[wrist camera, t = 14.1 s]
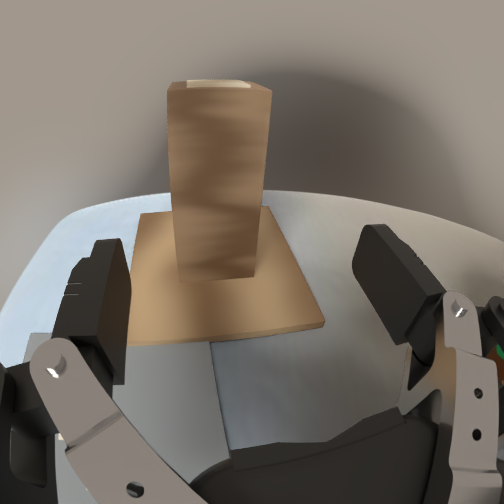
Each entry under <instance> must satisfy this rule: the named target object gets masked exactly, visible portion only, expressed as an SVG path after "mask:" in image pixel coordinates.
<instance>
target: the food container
mask: <svg viewBox="0 0 504 504" xmlns="http://www.w3.org/2000/svg"><path fill="white" fill-rule="evenodd" d="M487 358H489V359H492V360H494V361H495V363H496V367H497V376H498V378H499V380H500V382H501V383H502V384H503V385H504V353H503V351H502V349H501V348H500V346H499V344H498V345H497V346H496V347H495V348H494V349H493V351H492V352H491V353H490V354H489V355H488V356H487Z"/></svg>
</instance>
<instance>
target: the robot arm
mask: <svg viewBox="0 0 504 504" xmlns="http://www.w3.org/2000/svg"><path fill="white" fill-rule="evenodd" d="M352 270H353V274H354V276H355V278H356V279H357V281H358V282H359V284H360V286H361V287H362V289H363V291H364V292H365V294H366V295H367V297H368V299H369V300H370V302H371V304H372V305H373V307H374V309H375V310H376V312H377V314H378V315H379V317H380V319H381V320H382V322H383V324H384V326H385V327H386V329H387V331H388V333H389V334H390V336H391V338H392V340H393V341H394V343H395V345H399V344H403V343H406V342H409V343H410V347H409V348H408V350H407V353H406V360H405V367H404V374H403V380H402V386H401V392H400V396H399V399H398V401H397V403H396V404H395V406H394V408H392V409H389V410H387V411H384V412H382V413H379V414H376V415H373V416H371V417H368V418H365V419H363V420H362V421H360V422H359V423H357V424H356V425H354V426H353V427H351V428H349V429H348V430H346V431H345V432H343V433H341V434H340V435H338V436H337V437H335V438H333V439H332V440H330V441H327V442H318V443H280V442H277V443H272V444H267V445H261V446H255V447H249V448H243V449H235V450H230V458H228V459H226V460H223V461H221V462H219V463H217V464H215V465H213V466H211V467H209V468H208V469H206V470H205V471H203V472H201V473H200V474H199V475H198V476H197V477H195V478H194V479H193V480H192V481H191V482H190V483H188V482H187V481H186V480H185V479H184V478H182V477H181V476H180V475H179V474H178V473H177V472H176V471H175V470H174V469H173V468H172V467H171V466H170V465H169V464H168V463H167V462H166V461H165V460H164V459H163V458H162V457H161V456H160V455H159V454H158V453H157V451H156V450H155V449H154V448H153V447H152V446H151V445H150V444H149V443H148V442H147V441H146V439H145V438H144V437H143V436H142V435H141V434H140V433H139V431H138V430H137V429H136V428H135V427H134V425H133V424H132V423H131V422H130V421H129V419H128V418H127V417H126V416H125V414H124V413H123V412H122V411H121V409H120V408H119V407H118V405H117V404H116V403H115V401H114V400H113V399H112V396H113V385H125V363H126V348H127V335H128V324H129V314H130V305H131V296H132V286H131V278H130V274H129V270H128V266H127V262H126V258H125V254H124V249H123V245H122V242H121V240H120V239H119V238H117V239H105V240H97V241H96V242H95V244H94V247H93V250H92V253H91V256H90V257H87V258H82V259H81V260H80V261H79V262H78V263H77V265H76V266H75V267H74V268H73V269H72V272H71V274H70V277H69V280H68V285H67V286H66V289H65V292H64V296H63V298H62V301H61V304H60V308H59V311H58V314H57V318H56V321H55V325H54V328H53V332H52V336H51V339H50V340H47V341H45V342H43V343H42V344H41V345H40V346H39V347H38V348H37V349H36V350H35V351H34V353H33V355H32V357H31V360H30V361H28V362H25V363H22V364H19V365H15V366H12V367H8V368H5V367H4V366H3V365H2V364H1V363H0V504H58V494H57V483H56V466H55V434H58V433H60V434H61V436H62V438H63V439H64V441H65V443H66V446H67V448H66V449H65V455H66V457H67V460H68V461H69V463H70V465H71V467H72V468H73V470H74V471H75V473H76V474H77V475H78V477H79V478H80V480H81V481H82V483H83V484H84V485H85V487H86V488H87V489H88V491H89V492H90V493H91V495H92V496H93V497H94V499H95V500H96V501H97V502H98V504H504V385H503V384H502V383H501V382H500V380H499V378H498V376H497V367H496V363H495V361H494V360H492V359H489V358H487V356H488V355H489V354H490V353H491V352H492V351H493V349H494V348H495V347H496V346H497V345H498V344H499V346H500V348H501V349H502V351H503V353H504V299H502V298H500V297H497V296H493V297H492V298H491V299H490V300H489V302H488V303H487V304H486V306H485V307H475V306H474V304H473V303H472V302H471V300H470V299H469V298H467V297H466V296H465V295H463V294H461V293H459V292H456V291H448V292H447V291H446V290H445V289H444V288H443V286H442V285H441V284H440V282H439V281H438V280H437V279H436V277H435V276H434V275H433V274H432V272H431V271H430V270H429V269H428V268H427V266H426V265H423V262H422V260H421V259H420V258H419V257H417V255H416V253H415V252H414V251H413V250H412V249H411V248H410V246H409V245H407V244H406V243H404V242H403V241H402V240H400V239H399V238H398V237H397V236H396V234H395V233H394V232H393V231H392V230H391V229H390V228H389V227H388V226H387V225H385V224H374V225H366V226H364V228H363V229H362V232H361V235H360V238H359V242H358V245H357V248H356V251H355V254H354V257H353V260H352ZM10 440H11V444H10Z"/></svg>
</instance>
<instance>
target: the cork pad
mask: <svg viewBox="0 0 504 504" xmlns="http://www.w3.org/2000/svg"><path fill="white" fill-rule="evenodd" d="M130 278H131V286H132V296H131V305H130V314H129V324H128V335H127V346H146V345H164V344H179V343H192V342H203V341H209V342H219V341H229V340H238V339H246V338H254V337H262V336H269V335H276V334H283V333H289V332H296V331H302V330H308V329H314V328H320V327H323V325H324V322H325V320H324V318H323V315H322V313H321V311H320V309H319V307H318V305H317V303H316V301H315V299H314V297H313V294H312V292H311V290H310V288H309V286H308V284H307V282H306V280H305V278H304V276H303V274H302V272H301V270H300V268H299V266H298V264H297V262H296V260H295V258H294V256H293V254H292V252H291V250H290V248H289V246H288V244H287V242H286V240H285V238H284V236H283V234H282V232H281V230H280V228H279V226H278V224H277V222H276V220H275V218H274V216H273V214H272V212H271V210H270V208H269V206H261V213H260V223H259V232H258V242H257V252H256V262H255V272H254V277H251V278H239V279H227V280H214V281H201V282H187V283H179V275H178V266H177V258H176V248H175V238H174V228H173V216H172V211H169V212H155V213H143V214H141V215H140V220H139V225H138V230H137V235H136V240H135V246H134V251H133V257H132V263H131V270H130Z"/></svg>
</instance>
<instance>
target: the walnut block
mask: <svg viewBox="0 0 504 504" xmlns="http://www.w3.org/2000/svg"><path fill="white" fill-rule="evenodd" d="M271 100H272V90H269V89H267V88H265V87H262V86H260V85H258V84H255V83H253V82H243V81H241V80H187V81H186V82H173V83H172V84H171V86H170V87H169V89H168V91H167V119H168V152H169V172H170V189H171V204H172V216H173V228H174V238H175V248H176V258H177V266H178V275H179V283H187V282H201V281H214V280H227V279H239V278H251V277H254V272H255V262H256V252H257V242H258V232H259V223H260V213H261V203H262V192H263V181H264V172H265V162H266V151H267V141H268V130H269V120H270V109H271Z"/></svg>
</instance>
